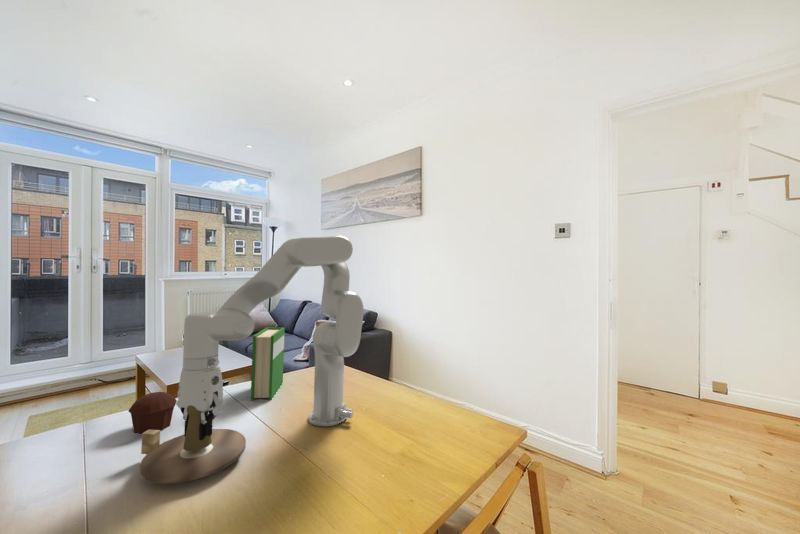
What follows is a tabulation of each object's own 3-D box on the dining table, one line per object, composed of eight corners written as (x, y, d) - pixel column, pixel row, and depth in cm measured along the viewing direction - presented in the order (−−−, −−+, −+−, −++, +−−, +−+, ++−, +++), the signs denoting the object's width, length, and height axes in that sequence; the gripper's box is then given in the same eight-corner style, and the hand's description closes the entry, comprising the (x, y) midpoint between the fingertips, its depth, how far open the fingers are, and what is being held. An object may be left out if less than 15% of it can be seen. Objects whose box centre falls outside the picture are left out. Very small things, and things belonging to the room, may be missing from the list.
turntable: (244, 426, 94) (245, 409, 94) (247, 467, 75) (247, 445, 75) (146, 443, 84) (147, 424, 84) (119, 497, 64) (120, 471, 64)
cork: (198, 452, 76) (199, 406, 76) (177, 449, 77) (178, 403, 77) (217, 439, 82) (219, 396, 82) (197, 436, 83) (199, 394, 83)
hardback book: (271, 400, 119) (273, 335, 119) (250, 400, 118) (253, 335, 118) (282, 383, 136) (284, 327, 137) (264, 384, 135) (266, 327, 136)
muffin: (161, 416, 104) (162, 385, 104) (184, 422, 100) (185, 390, 100) (118, 432, 93) (119, 398, 93) (142, 440, 89) (143, 404, 89)
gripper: (239, 362, 81) (236, 434, 81) (189, 355, 86) (186, 423, 86) (214, 370, 74) (211, 450, 74) (161, 362, 79) (158, 437, 79)
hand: (198, 435), depth 80 cm, fingers closed on cork, 4 cm apart
